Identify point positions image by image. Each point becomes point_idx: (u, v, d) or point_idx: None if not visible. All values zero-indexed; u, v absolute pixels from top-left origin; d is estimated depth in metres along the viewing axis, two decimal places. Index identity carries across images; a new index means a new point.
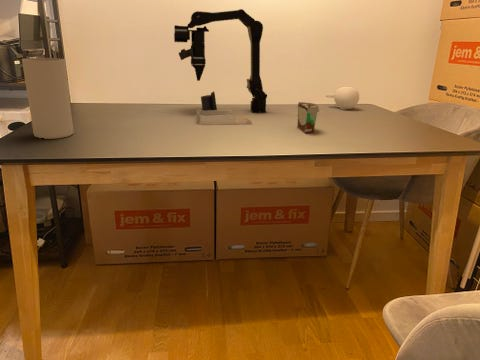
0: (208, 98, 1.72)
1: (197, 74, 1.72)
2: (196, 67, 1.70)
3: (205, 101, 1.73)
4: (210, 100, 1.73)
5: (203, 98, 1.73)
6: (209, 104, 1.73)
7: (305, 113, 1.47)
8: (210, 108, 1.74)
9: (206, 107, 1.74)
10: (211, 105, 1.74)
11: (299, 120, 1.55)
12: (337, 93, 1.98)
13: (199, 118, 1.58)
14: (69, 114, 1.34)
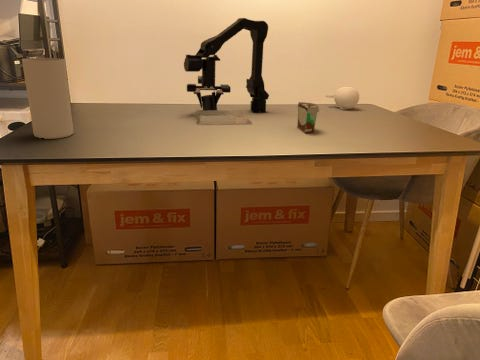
0: (209, 98, 1.72)
1: None
2: None
3: (206, 101, 1.73)
4: (211, 100, 1.73)
5: (204, 98, 1.73)
6: (209, 104, 1.73)
7: (305, 113, 1.47)
8: (210, 108, 1.74)
9: (206, 107, 1.74)
10: (211, 105, 1.74)
11: (299, 120, 1.55)
12: (337, 93, 1.98)
13: (199, 118, 1.58)
14: (69, 114, 1.34)
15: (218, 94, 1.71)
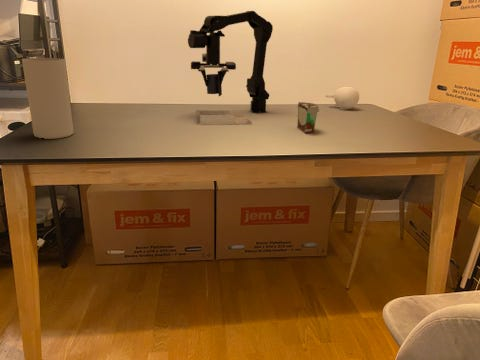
0: (214, 76, 1.68)
1: None
2: None
3: (211, 79, 1.68)
4: (216, 79, 1.69)
5: (209, 76, 1.68)
6: (214, 83, 1.69)
7: (305, 113, 1.47)
8: (215, 87, 1.69)
9: (211, 85, 1.69)
10: (216, 84, 1.69)
11: (299, 120, 1.55)
12: (337, 93, 1.98)
13: (199, 118, 1.58)
14: (69, 114, 1.34)
15: (223, 71, 1.66)
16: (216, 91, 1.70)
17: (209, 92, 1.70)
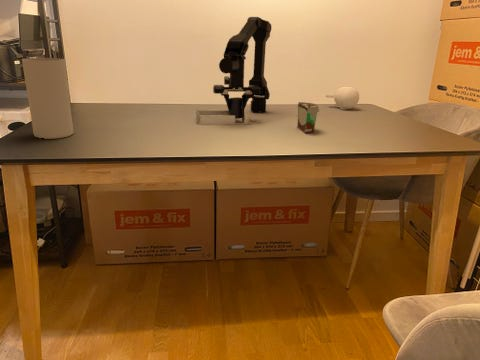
0: (237, 101, 1.62)
1: None
2: None
3: (234, 103, 1.62)
4: (239, 103, 1.62)
5: (232, 100, 1.62)
6: (238, 107, 1.63)
7: (305, 113, 1.47)
8: (238, 111, 1.63)
9: (234, 110, 1.63)
10: (240, 108, 1.63)
11: (299, 120, 1.55)
12: (337, 93, 1.98)
13: (199, 118, 1.58)
14: (69, 114, 1.34)
15: (247, 95, 1.60)
16: (239, 115, 1.64)
17: None
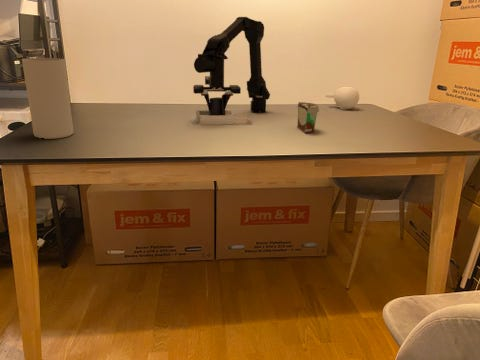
0: (218, 101, 1.60)
1: None
2: None
3: (214, 103, 1.61)
4: (220, 103, 1.61)
5: (212, 100, 1.61)
6: (218, 107, 1.61)
7: (305, 113, 1.47)
8: (219, 111, 1.62)
9: (214, 110, 1.62)
10: (220, 108, 1.62)
11: (299, 120, 1.55)
12: (337, 93, 1.98)
13: (199, 118, 1.58)
14: (69, 114, 1.34)
15: (227, 95, 1.59)
16: None
17: None
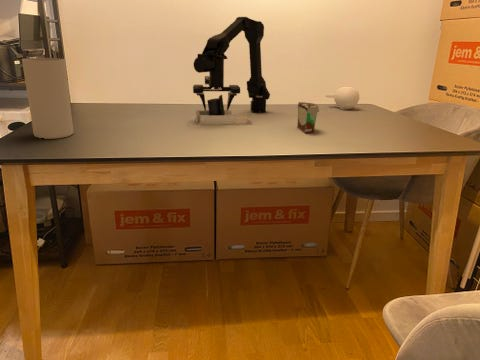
0: (216, 102, 1.61)
1: None
2: None
3: (212, 105, 1.61)
4: (218, 104, 1.61)
5: (210, 102, 1.61)
6: (217, 108, 1.61)
7: (305, 113, 1.47)
8: (218, 112, 1.62)
9: (213, 111, 1.62)
10: (219, 109, 1.62)
11: (299, 120, 1.55)
12: (337, 93, 1.98)
13: (199, 118, 1.58)
14: (69, 114, 1.34)
15: (231, 95, 1.59)
16: None
17: None
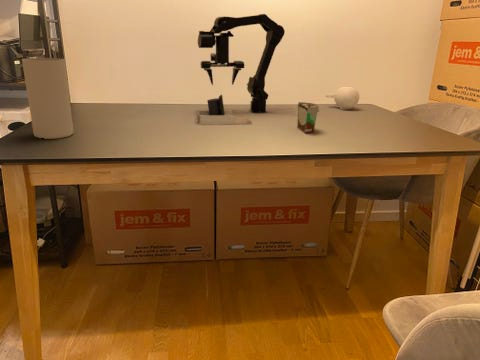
0: (216, 102, 1.61)
1: None
2: (208, 71, 1.75)
3: (212, 105, 1.61)
4: (218, 104, 1.61)
5: (210, 102, 1.61)
6: (217, 108, 1.61)
7: (305, 113, 1.47)
8: (218, 112, 1.62)
9: (213, 111, 1.62)
10: (219, 109, 1.62)
11: (299, 120, 1.55)
12: (337, 93, 1.98)
13: (199, 118, 1.58)
14: (69, 114, 1.34)
15: (236, 70, 1.74)
16: None
17: None
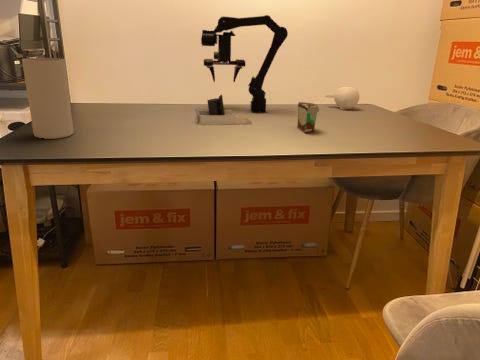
0: (216, 102, 1.61)
1: (212, 75, 1.83)
2: None
3: (212, 105, 1.61)
4: (218, 104, 1.61)
5: (210, 102, 1.61)
6: (217, 108, 1.61)
7: (305, 113, 1.47)
8: (218, 112, 1.62)
9: (213, 111, 1.62)
10: (219, 109, 1.62)
11: (299, 120, 1.55)
12: (337, 93, 1.98)
13: (199, 118, 1.58)
14: (69, 114, 1.34)
15: (237, 68, 1.80)
16: None
17: None
